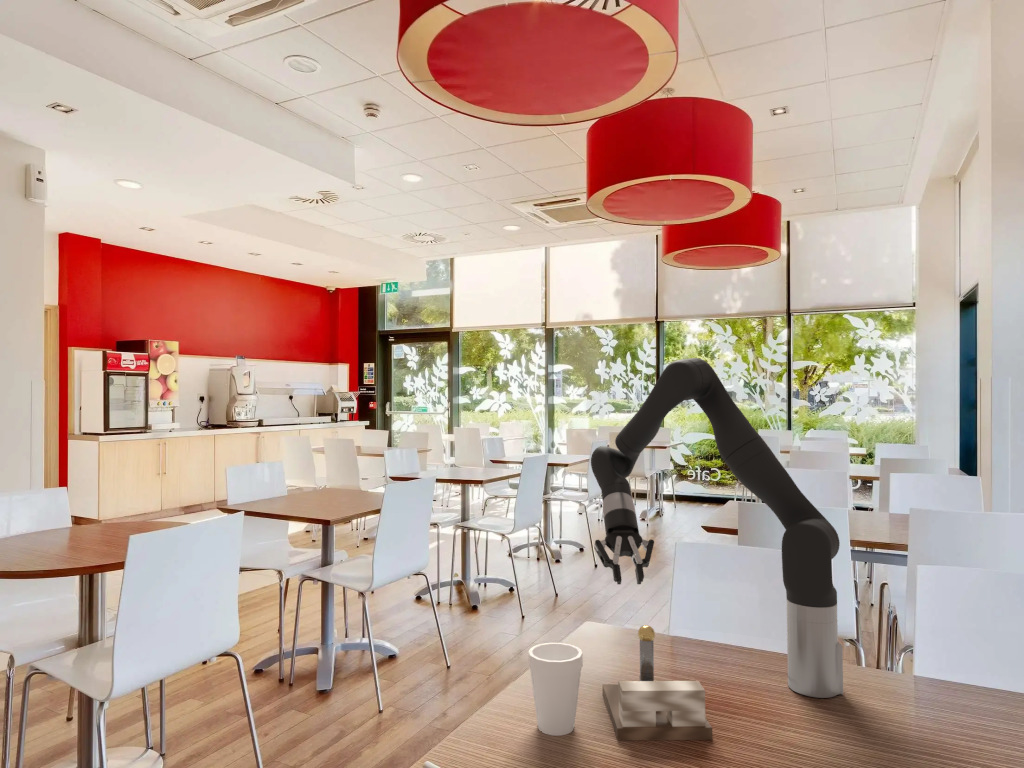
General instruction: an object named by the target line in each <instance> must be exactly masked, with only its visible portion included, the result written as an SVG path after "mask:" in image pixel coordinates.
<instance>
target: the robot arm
mask: <svg viewBox="0 0 1024 768" xmlns="http://www.w3.org/2000/svg"><path fill="white" fill-rule="evenodd" d="M690 400H691V401H692V400H693V401H694V402H695V403H696V404H697V405H698V406H699V407H700V409H701V410H702V411H703V413H704V414H705V415H706V417H707V418H708V420H709V422H710V424H711V428H712V430H713V435H714V441H715V444H716V449H717V451H718V453H719V455H720V457H721V459H722V460H723V461H724V463H725V464H726V465H727V467H728V468H729V470H730V471H731V473H732V474H733V475H734V476H735V478H736V479H737V480H738V481H739V482H740V484H742V485H743V487H745V488H746V489H747V490H749V491H750V492H751V493H752V494H753V495H754V496H755V497H756V498H758V499H759V500H760V501H761V502H763V504H765V505H766V506H767V507H768V508H769V509H770V510H771V511H772V512H773V513H774V514H775V517H777V519H778V520H779V521H780V523H781V525H782V527H784V530H785V531H784V533H783V535H782V540H781V564H782V567H781V570H782V581H783V585H784V588H785V593H786V596H785V597H786V632H787V633H786V636H787V637H786V642H787V645H786V647H787V650H786V651H787V685H788V687H789V689H790V690H791V691H794V692H795V693H798V694H800V695H802V696H806V697H810V698H811V697H812V698H820V699H824V698H826V699H827V698H834V697H836V696H837V695H844V659H843V657H844V654H843V650H844V649H843V645H842V643H840V642H839V640H838V639H839V637H838V636H839V635H838V634H839V633H838V627H839V625H838V592H837V588H835V586H834V583H833V568H832V567H833V563H832V562H833V561H832V560H833V559H834V558H835V557H836V556H837V554H838V553H839V550H840V547H841V546H840V538H839V534H838V531H837V530H836V529H835V527H834V526H833V525H832V524H831V523H830V521H829V520H828V519H827V518H826V517H825V516H824V515H823V514H822V513H821V512H820V511H819V509H818V508H817V507H816V506H814V505H813V503H812V502H811V501H810V500H809V499H808V498H807V497H806V495H804V493H803V492H802V491H801V490H800V488H799V487H798V486H797V484H796V482H794V479H793V478H792V477H791V476H790V474H789V472H788V471H787V470H786V469H785V467H784V465H782V463H781V462H780V461H779V459H778V458H777V457H776V455H775V454H774V452H773V451H772V449H771V448H770V447H769V446H768V444H767V442H766V441H765V440H764V438H763V437H762V436H761V435H760V434H759V433H758V432H757V430H756V429H755V428H754V427H753V425H752V424H751V423H750V421H749V420H748V419H747V417H746V416H745V414H744V413H743V412H742V410H741V409H740V408H739V407H738V406H737V404H736V403H735V401H734V400H733V399H732V397H731V396H730V394H729V392H728V391H727V389H726V387H725V386H724V384H723V383H722V381H721V379H720V378H719V376H718V375H717V373H716V372H715V370H714V368H713V367H712V365H711V364H709V363H708V362H707V361H706V360H704V359H702V358H698V357H690V358H682V359H677V360H673V361H671V362H670V363H669V364H668V365H667V366H666V367H665V368H664V369H663V371H662V372H661V374H660V376H659V378H658V379H657V380H656V382H655V384H654V386H653V388H652V390H651V391H650V393H649V395H647V397H646V399H645V401H644V402H643V403H642V405H641V406H640V408H639V409H638V411H637V412H636V413H635V414H634V415H633V416H632V417H631V419H630V420H629V421H628V422H627V424H626V425H625V426H624V427H623V428H622V429H621V430H620V431H619V433H618V434H617V435H616V437H615V439H614V443H615V447H616V448H617V449H616V448H614V447H613V448H612V447H609V446H607V445H601V446H598V447H596V448H595V449H594V450H593V452H592V454H591V457H590V466H591V471H592V473H593V475H594V477H595V480H596V482H597V484H598V486H599V488H600V490H601V498H602V514H603V515H602V518H603V522H604V529H605V537H604V539H602V540H600V539H596V540H595V542H594V545H593V546H594V551H595V552H596V554H597V557H598V558H599V560H600V562H601V563H602V566H603V567H604V568H605V569H606V568H610V569H611V570H612V576H613V581H614V582H615V583H617V585H622V573H621V565H620V564H619V561H620V558H622V557H629V558H630V560H631V562H632V563H633V564H634V567H635V568H634V571H635V578H636V584H637V585H641V584H642V582H644V578H645V573H644V568H649V565H650V562H651V561H650V560H651V558H652V553H653V549H654V544H655V541H654V539H649V540H646V539H643V537H642V536H641V534H640V530H639V524H638V519H637V512H636V508H635V504H634V500H633V497H632V490H631V486H630V485H631V484H630V483H629V481H628V479H627V478H628V477H629V476H630V475H631V474H632V472H633V470H634V467H635V465H636V463H637V460H638V459H639V457H640V455H641V453H642V452H643V451H644V450H645V449H646V448H647V446H649V444H650V443H651V442H652V441H653V440H654V438H655V437H656V436H657V434H658V433H659V430H660V428H661V425H662V423H663V421H664V419H665V417H667V415H668V414H669V413H670V412H671V411H672V410H674V408H675V407H677V406H679V405H680V404H681V403H683V402H684V401H690ZM641 546H642V547H643V550H644V551H645V554H644V558H642V557H641V555H640V552H639V549H640V547H641ZM606 547H607V548H608V549H609V550H610V551H611V552H612V553H613V556H612V559H611V558H610V557H609V554H608V552H607V551H606Z"/></svg>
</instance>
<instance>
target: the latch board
mask: <svg viewBox="0 0 1024 768" xmlns="http://www.w3.org/2000/svg"><path fill="white" fill-rule="evenodd" d="M601 687H602V688H601V689H602V697H603V700H604V703H605V706H606V710H607V713H608V716H609V719H610V722H611V726H612V727H613V730H614V734H615V737H616V740H617V741H697V740H698V741H701V740H702V741H709V740H710V741H711V740H712V741H713V727H712V725H711V724H710V722H709V720H708V719H707V717H706V690H705V688H704V687H703V685H702V684H701V682H700V681H699V680H654V681H640V680H637V681H636V680H632V681H631V680H628V681H627V680H625V681H623V680H622V681H621V680H620V681H618V683H615V684H614V683H613V684H612V683H611V684H610V683H608V684H606V683H605V684H602V686H601Z"/></svg>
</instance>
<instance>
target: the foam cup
mask: <svg viewBox="0 0 1024 768" xmlns="http://www.w3.org/2000/svg"><path fill="white" fill-rule="evenodd" d="M527 654H528V667H529V670H530V677H531V686H532V692H533V693H532V694H533V700H534V708H535V714H536V715H535V716H536V722H537V723H536V724H537V728H538V730H539V731H540V732H541V731H542V732H541V733H543V734H546V735H548V736H556V737H557V736H559V737H560V736H565V735H568V734H570V733H572V732H573V731H574V729H575V724H576V714H577V707H578V699H579V689H580V681H581V673H582V672H581V671H582V668H583V663H584V662H583V661H584V659H583V651H582V650H581V648H580V647H578V646H576V645H573V644H569V643H564V642H546V643H539V644H536V645H534V646H532V647H531V648H530V649H529V650H528V653H527Z"/></svg>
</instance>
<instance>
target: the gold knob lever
mask: <svg viewBox="0 0 1024 768" xmlns="http://www.w3.org/2000/svg"><path fill="white" fill-rule="evenodd" d="M637 636H638V639H639V681H655V659H654V656H655V652H654V651H655V650H654V649H655V644H654V640H655V638H656V631H655V629H654V628H653V626H651V625H648V624H644V625H642V626H640V627H639V629H638V632H637Z"/></svg>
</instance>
